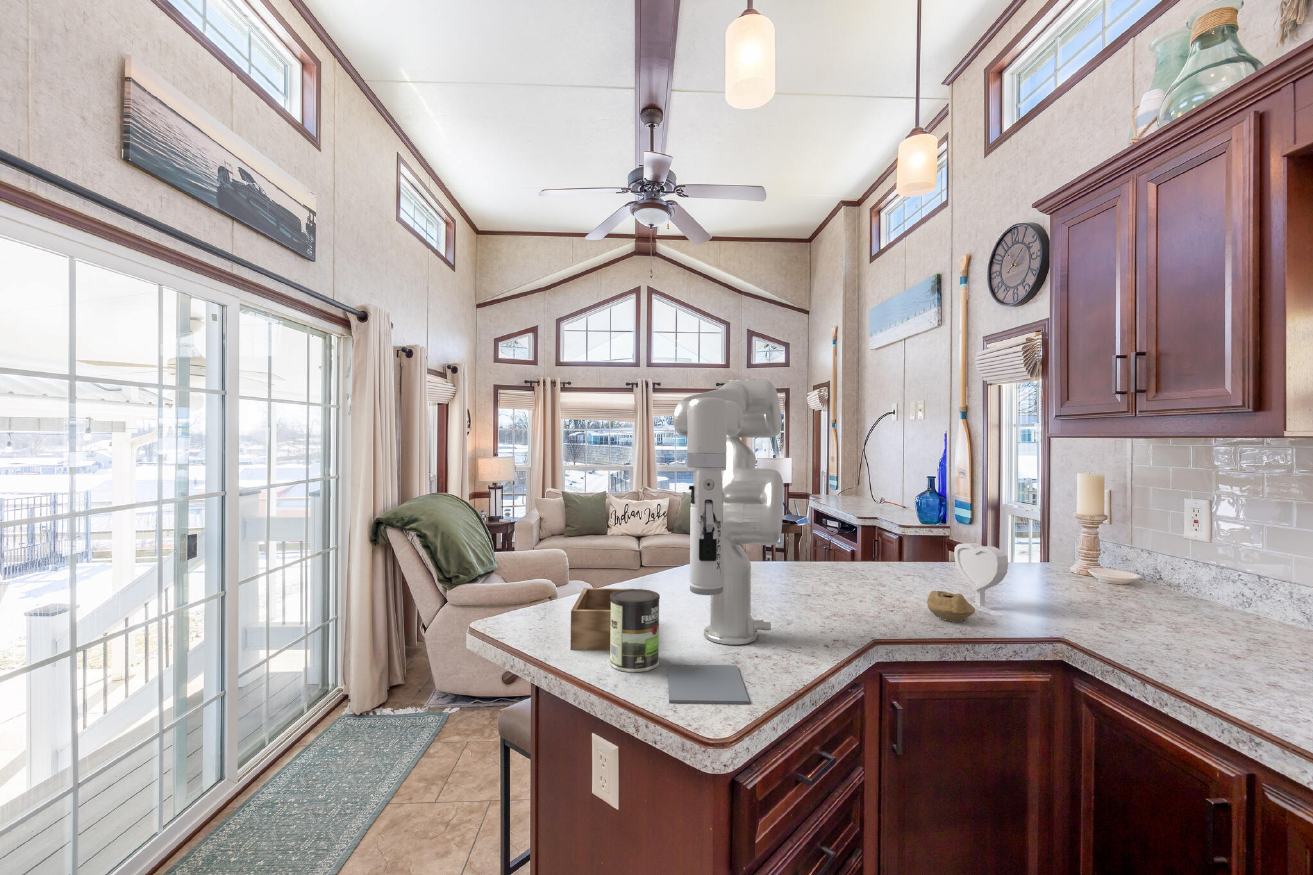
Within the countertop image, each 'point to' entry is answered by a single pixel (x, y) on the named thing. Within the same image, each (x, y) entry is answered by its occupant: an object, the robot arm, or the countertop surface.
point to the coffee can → (634, 630)
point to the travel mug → (704, 573)
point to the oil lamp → (949, 606)
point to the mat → (706, 684)
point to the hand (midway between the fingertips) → (706, 556)
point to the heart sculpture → (980, 567)
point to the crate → (592, 620)
